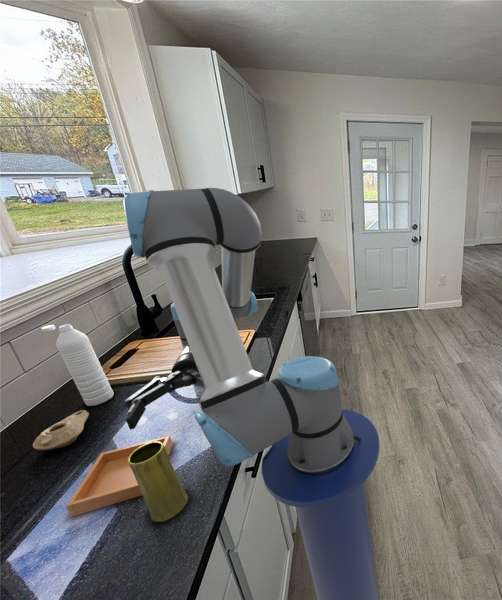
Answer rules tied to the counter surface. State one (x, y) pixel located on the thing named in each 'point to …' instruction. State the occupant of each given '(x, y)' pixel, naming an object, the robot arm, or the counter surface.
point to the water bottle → (82, 365)
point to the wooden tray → (109, 480)
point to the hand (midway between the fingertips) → (167, 415)
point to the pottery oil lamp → (62, 432)
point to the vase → (157, 481)
